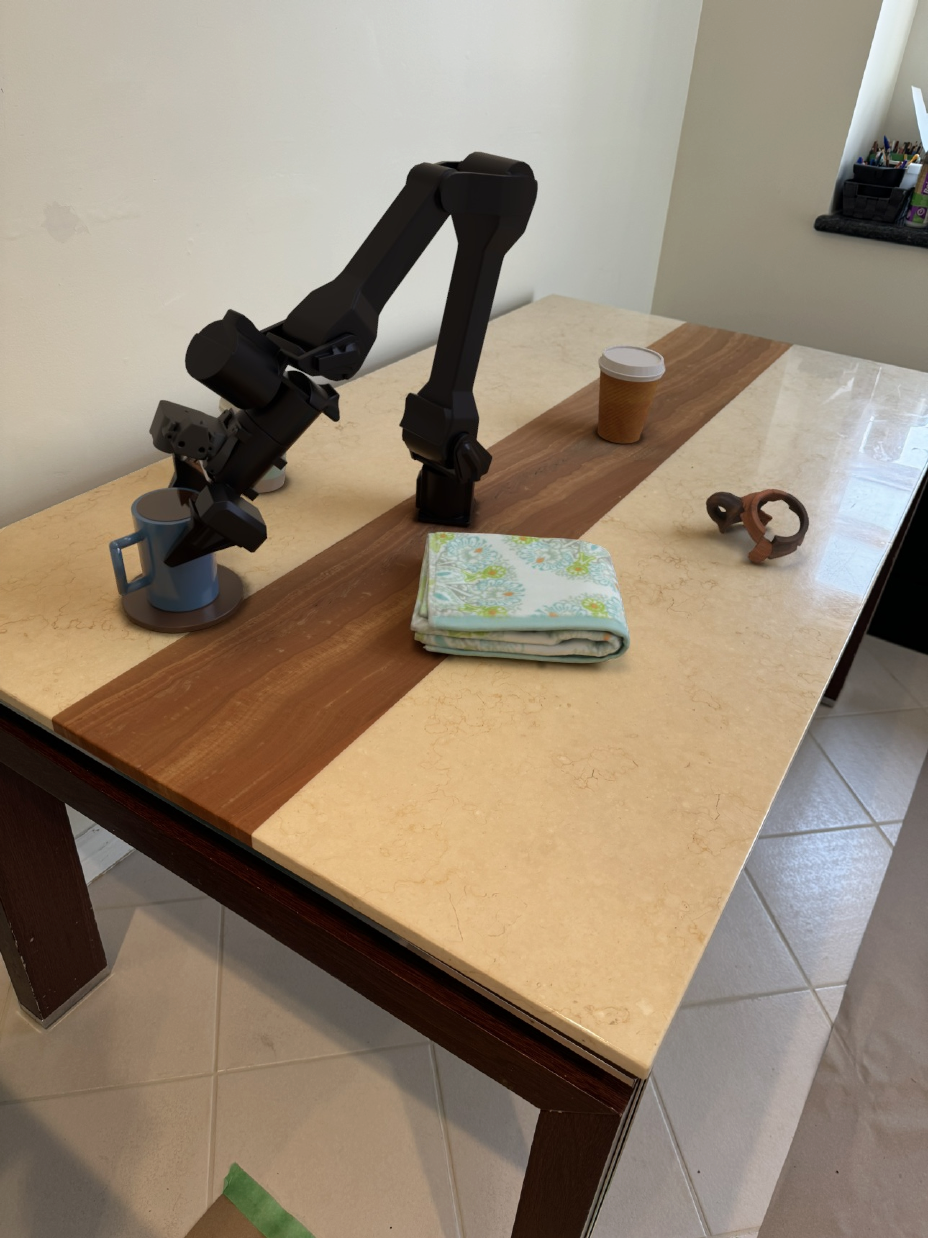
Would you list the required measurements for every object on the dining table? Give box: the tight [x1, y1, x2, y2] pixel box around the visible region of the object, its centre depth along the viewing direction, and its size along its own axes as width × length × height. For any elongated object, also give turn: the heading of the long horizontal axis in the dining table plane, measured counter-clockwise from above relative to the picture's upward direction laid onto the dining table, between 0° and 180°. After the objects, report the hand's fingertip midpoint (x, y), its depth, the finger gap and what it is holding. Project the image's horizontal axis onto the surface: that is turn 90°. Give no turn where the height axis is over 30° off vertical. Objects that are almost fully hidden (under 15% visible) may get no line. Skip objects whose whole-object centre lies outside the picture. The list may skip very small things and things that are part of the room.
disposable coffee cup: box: [597, 344, 666, 444], centre depth 126 cm, size 10×10×12 cm
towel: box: [410, 531, 631, 664], centre depth 90 cm, size 18×21×5 cm
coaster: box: [121, 563, 245, 634], centre depth 89 cm, size 12×12×1 cm
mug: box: [108, 487, 220, 612], centre depth 85 cm, size 10×7×10 cm
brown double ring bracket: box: [705, 488, 810, 564], centre depth 105 cm, size 12×10×8 cm
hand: (161, 544), depth 85 cm, fingers closed on mug, 7 cm apart
